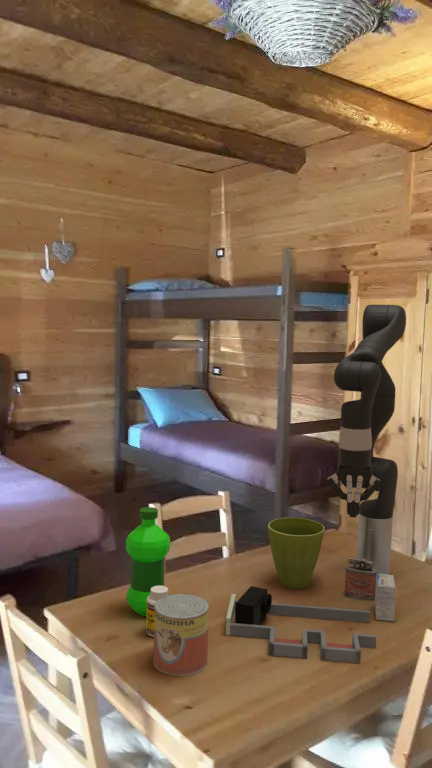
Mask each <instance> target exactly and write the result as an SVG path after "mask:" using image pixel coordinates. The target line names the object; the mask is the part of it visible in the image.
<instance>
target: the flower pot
mask: <svg viewBox="0 0 432 768" xmlns="http://www.w3.org/2000/svg"><path fill="white" fill-rule="evenodd" d="M267 531H268V538H269V545H270V551H271V554H272V560H273V564H274V567H275V571H276V574H277V577H278V580H279V582H280V584H281V585H282V586H283V587H284V588H287V589H294V590H301V589H305V588H306V587H308V586H309V583H310V582H311V579H312V576H313V574H314V571H315V568H316V566H317V563H318V559H319V557H320V554H321V553H320V552H321V549H322V544H323V538H324V534H325V526H324V525H323V524H322V523H320V522H318V521H315V520H312V519H309V518H303V517H281V518H275V519H273V520H271V521H270V522H269V523H268V524H267Z"/></svg>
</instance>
